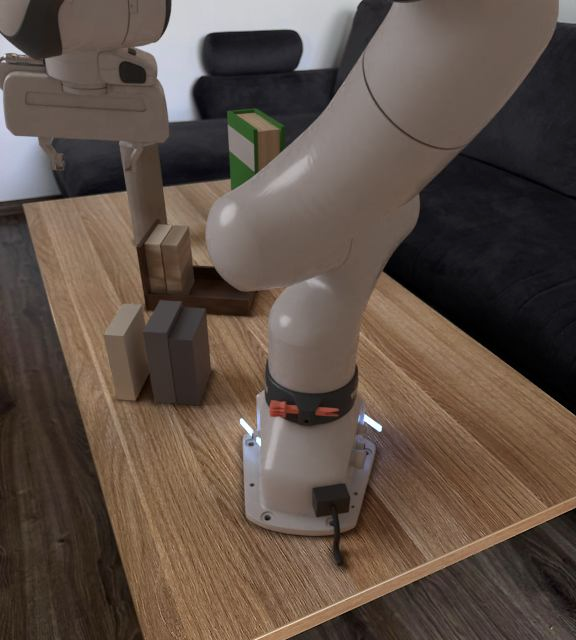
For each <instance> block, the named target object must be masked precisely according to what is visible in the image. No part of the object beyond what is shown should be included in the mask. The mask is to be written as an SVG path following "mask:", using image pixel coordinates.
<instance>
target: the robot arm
mask: <svg viewBox="0 0 576 640" xmlns="http://www.w3.org/2000/svg"><path fill="white" fill-rule="evenodd" d="M385 1H387V2H389V3H390V2H391V3H392V5H391V7H390V9H389V11H388V12H387V14H386V16H385V17H384V19H383V21H382V22H381V24H380V25H379V27H378V29H377V30H376V31H375V33H374V35H373V36H372V38H371V39H370V40H369V42H368V44H367V45H366V47H365V49H364V50H363V51H362V53H361V55H359V58H358V59H357V61H356V63H355V64H354V65H353V67H352V69H351V70H350V72H349V73H348V75H347V77H346V78H345V79H344V81H343V82H342V84H341V85H340V87H339V88H338V89H337V92H336V93H335V94H334V96H333V97H332V99H331V100H330V102H329V103H328V105H327V106H326V108H325V109H324V110H323V111H322V112H321V114H320V115H319V116H317V118H316V119H315V120H314V121H313V122H312V123H311V124H310V125H309V126H308V127H307V128H306V129H305V130H304V131H303V132H302V133H301V134H300V135H298V136H297V137H296V138H295V139H294V140H293V141H292V142H291V143H290V144H288V146H286V147H285V149H284V150H283V151H282V152H281V153H280V154H279V155H278V156H277V157H276V158H274V159H273V160H272V161H271V162H270V163H269V164H268V165H267V166H266V167H264V168H263V169H262V170H261V171H260V172H258V173H257V174H256V175H255V176H253V177H252V178H251V179H249V180H248V181H246V182H245V183H243V184H242V185H240V186H239V187H237V188H236V189H234V190H232V191H231V190H230V191H229V192H227V193H225V194H224V195H222V196H221V197H219V198H217V199H216V200H215V201H214V202H213V204H212V205H211V208H210V210H209V212H208V215H207V219H206V221H205V231H204V237H205V247H206V250H207V254H208V257H209V259H210V262H211V264H212V266H214V267H215V269H216V270H217V272H218V273H219V274H220V276H221V277H222V278H223V279H224V280H225V281H226V282H228V283H229V284H230V285H231V286H233V287H235V288H236V289H238V290H240V291H244V292H248V291H256V292H258V291H269V290H277V289H282V288H284V290H283V291H282V292H281V293H280V294H279V295H278V297H276V299H275V301H274V302H273V303H272V306H271V307H270V310H269V313H268V318H267V351H268V352H267V353H268V354H267V361H266V364H265V370H264V376H263V377H264V379H263V386H264V389H263V390H262V391H259V393H257V394H256V427H257V428H256V429H252V427H250V425H248V423H247V422H246V421H245V420H244V419H243V418H240V419H239V423H240V425H241V426H242V427H243V428H244V429H245V430H246V431H247V432H246V433H245V434H244V435H243V436H242V443H241V444H242V469H243V470H242V471H243V493H244V514H245V518H246V519H247V520H248V521H250V522H251V523H253V524H254V525H256V526H258V527H260V528H262V529H264V530H265V529H266V530H269V531H272V532H276V533H280V534H281V533H282V534H286V535H287V534H288V535H294V536H295V535H296V536H307V537H323V536H333V542H332V550H333V551H332V553H333V556H334V560H335V563H336V566H337V567H341V566H343V565H344V562H343V559H342V555H341V552H340V543H341V542H340V541H341V534H342V533H346V532H349V531H350V530H353V529H354V528H355V527H356V526H357V524H358V520H359V517H360V513H361V509H362V505H363V502H364V500H365V499H364V498H365V494H366V491H367V487H368V483H369V481H370V476H371V472H372V468H373V465H374V462H375V458H376V454H377V453H376V452H377V451H376V450H377V448H376V445H375V443H373V441H371V440H370V439H367V438H365V437H364V436H366V434H367V429H368V425H370V426H371V427H372V428H374V429H375V430H377V432H382V425H381V424H380V423H378V422H377V421H375V420H373V419H372V418H371V417H369V416H368V415H367V414H366V406H367V404H366V401H364V400H363V398H361V397H360V396H359V395H358V388H359V379H360V378H359V367H358V364H357V357H358V348H359V341H360V333H361V327H362V321H363V318H364V315H365V312H366V308H367V305H368V303H369V301H370V298H371V296H372V293H373V291H374V289H375V286H376V285H377V283H378V281H379V279H380V277H381V275H382V273H383V271H384V269H385V267H386V265H387V264H388V262H389V260H390V258H391V257H392V256H393V254H394V253H395V252H396V249H398V247H399V246H400V245H401V244H402V243H403V242H404V241H405V239H406V238H407V237H408V236H409V235H410V234H411V233H412V232H413V230H414V228H415V227H416V225H417V223H418V219H419V217H420V211H421V210H420V209H421V200H420V199H421V197H420V193H421V192H422V191H423V190H424V189H425V188H426V187H427V186H428V185H429V184H430V183H431V182H432V181H433V180H434V179H435V178H436V177H437V176H438V175H439V174H440V173H441V172H442V171H443V170H444V169H445V168H446V167H447V166H448V165H449V164H450V163H451V162H452V161H453V160H454V159H455V158H456V157H457V156H458V155H459V154H460V153H461V152H462V151H463V150H464V149H465V148H466V147H467V146H468V145H469V144H470V143H471V142H472V141H473V140H474V139H476V137H477V136H478V135H479V134H480V133H481V132H482V130H484V128H485V127H486V126H487V125H488V124H489V123H490V122H491V121H492V120H493V119H494V118H495V116H496V115H497V114H498V113H499V112H500V110H501V109H502V108H503V107H504V106H505V105H506V103H507V102H508V101H509V100H510V99H511V97H512V96H513V95H514V94H515V92H516V91H517V90H518V88H519V87H520V86H521V84H522V83H523V81H524V80H525V79H526V77H528V75H529V73H530V72H531V71H532V69H533V67H534V66H535V65H536V63H537V62H538V60H539V59H540V57H541V56H542V54H543V53H544V51H545V50H546V48H547V47H548V45H549V43H550V41H551V40H552V38H553V36H554V33H555V30H556V28H557V23H558V19H559V13H560V12H559V11H560V1H559V0H385ZM172 2H173V1H172V0H0V35H2V37H3V38H4V39H5V40H7V41H8V42H9V43H10V44H11V45H12V46H13V47H14V48H16V49H17V50H19V51H20V52H22V53H23V54H17V53H15V52H7V53H4V55H3V56H0V90H1V91H2V105H3V116H4V123H5V124H4V125H5V127H6V129H7V130H8V131H9V132H10V133H11V134H12V135H13V136H15V137H26V138H27V137H31V138H37V141H38V145H39V147H40V148H41V149H42V150H43V153H45V154H46V156H47V157H48V158H49V159H50V165H51V169H52V171H65V169H66V162H65V155H64V153H63V152H61V153H59V152H57V151H56V149H55V148H54V146H53V145H52V141H53V139H71V140H72V139H73V140H89V141H90V140H93V141H112V142H113V141H115V142H120V141H132V148H133V149H134V151H133V153H132V155H131V156H125V160H124V162H125V173H136V161H137V159H138V158H139V156H140V154H141V152H142V151H143V142H153V143H158V144H164V143H166V141H167V140H168V139H169V137H170V120H169V112H168V104H167V100H166V99H167V98H166V95H165V90H164V86H163V85H162V83H161V81H160V80H159V79H158V62H157V60H156V57H155V56H154V55H153V54H152V53H150V52H147V51H145V50H142V49H140V48H138V47H145V46H148V45H151V44H155V43H157V42H159V41H160V40H161V38H162V37H163V35H164V34H165V33H166V30H167V29H168V26H169V23H170V20H171V15H172V5H173V3H172ZM4 61H5V62H4ZM365 422H366V423H367V424H368V425H367V424H365Z"/></svg>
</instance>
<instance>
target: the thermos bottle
mask: <svg viewBox="0 0 576 640" xmlns="http://www.w3.org/2000/svg"><path fill="white" fill-rule="evenodd" d="M118 145H119V152H120V157H121V164H122V169H123V170H122V171H123V176H124V182H125V189H126V195H127V201H128V209H129V214H130V220H131V226H132V232H133V238H134V242H135V244H136V246H137V245H138V244H139V243H140V241H141V240H142V238H143V237H144V236H145V234H146V233H147V232H148V230H149V229H150V227H151V226H152V225H153V223H154V222H155V220H156V219H160V222H161V225H169V224H168V217H167V216H168V215H167V209H166V200H165V194H164V185H163V184H164V183H163V177H162V167H161V160H160V152H159V143H153V142H143V151H142V152H141V154H140V156H139V158H138V159H137V161H136V173H125V162H124V160H125V156H131V155H132V153H133V151H134V149H133V148H132V141H118Z"/></svg>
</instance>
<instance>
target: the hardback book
mask: <svg viewBox="0 0 576 640" xmlns="http://www.w3.org/2000/svg"><path fill="white" fill-rule="evenodd" d="M226 118H227V136H228V152H229V153H228V156H229V157H228V158H229V177H230V192H231V191H232V190H234V189H236V188H237V187H239V186H240V185H242V184H243V183H245V182H246V181H248V180H249V179H251V178H252V177H253V176H255V175H256V174H257V173H258V172H260V171H261V170H262V169H263V168H264V167H266V166H267V165H268V164H269V163H270V162H271V161H272V160H273V159H274V158H276V157H277V156H278V155H279V154H280V153H281V152H282V151H283V150H284V149H285V148H286V126H285V125H284V124H282V123H281V122H279V121H277V120H276V119H274V118H273V117H271V116H269V115H268V114H267V113H264V112H263V111H261V110H260V109H259V108H257V107H256V108H244V109H235V110H227V112H226Z"/></svg>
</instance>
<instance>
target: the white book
mask: <svg viewBox="0 0 576 640" xmlns="http://www.w3.org/2000/svg"><path fill="white" fill-rule="evenodd" d="M143 308H144V307H143V304H141V303H140V304H139V303H137V304H136V303H122V305H121V307H119V310H118V311H117V312H116V314H115V316H114V317H113V319H112V320H111V322H109V325H108V326H107V328H106V329H105V331H104V333H103V334H102V335H103V340H104V345H105V350H106V354H107V358H108V364H109V367H110V368H109V369H110V372H111V377H112V382H113V386H114V391H115V395H116V400H121V401H135V402H136V401H137V399H138V397H139V395H140V393H141V391H142V389H143V387H144V385H145V383H146V381H147V378H148V376H150V372H149V366H148V360H147V354H146V348H145V342H144V336H143V330H144V328H145V326H146V320H145V315H144V314H145V313H144V309H143Z"/></svg>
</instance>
